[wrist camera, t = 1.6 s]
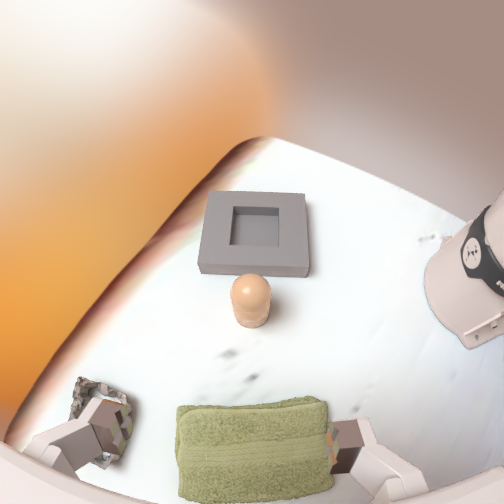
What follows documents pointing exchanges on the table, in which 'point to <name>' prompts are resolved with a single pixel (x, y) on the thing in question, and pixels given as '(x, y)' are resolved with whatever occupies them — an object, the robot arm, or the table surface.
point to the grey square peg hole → (254, 234)
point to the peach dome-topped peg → (251, 300)
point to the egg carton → (82, 401)
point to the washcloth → (252, 451)
